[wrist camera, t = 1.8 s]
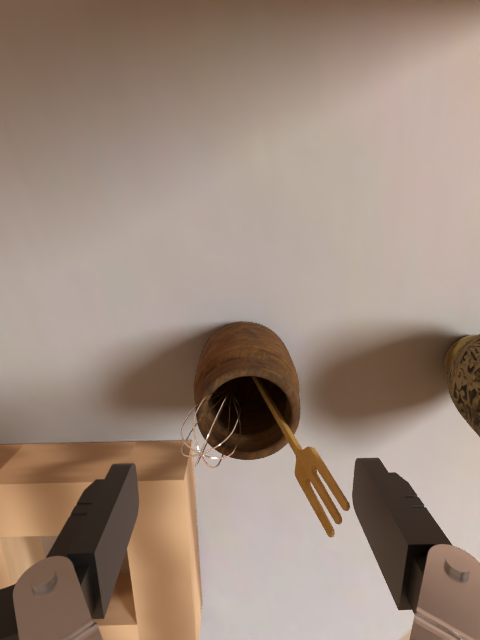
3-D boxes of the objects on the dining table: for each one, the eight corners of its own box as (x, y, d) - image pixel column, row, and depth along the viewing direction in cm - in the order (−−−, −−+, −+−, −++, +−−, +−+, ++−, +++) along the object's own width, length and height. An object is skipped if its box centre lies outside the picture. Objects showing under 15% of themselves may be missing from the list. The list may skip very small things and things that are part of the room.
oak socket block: (191, 440, 25) (183, 479, 21) (202, 604, 29) (196, 662, 25) (-32, 445, 24) (-81, 486, 21) (12, 609, 29) (-23, 668, 25)
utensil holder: (217, 305, 22) (198, 393, 10) (306, 338, 23) (380, 455, 11) (188, 383, 23) (142, 537, 12) (272, 412, 24) (307, 584, 13)
